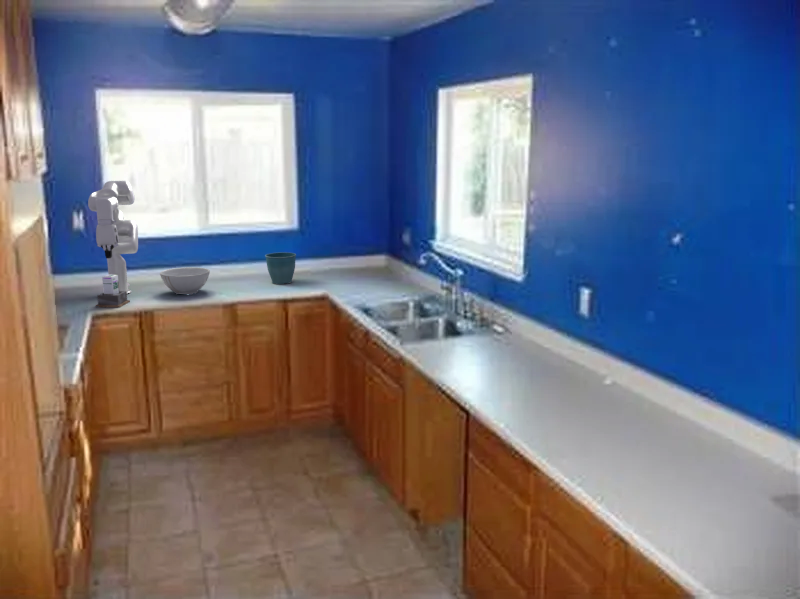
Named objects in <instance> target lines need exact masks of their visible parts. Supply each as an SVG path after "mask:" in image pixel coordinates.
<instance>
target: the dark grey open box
mask: <svg viewBox="0 0 800 599" xmlns="http://www.w3.org/2000/svg"><path fill="white" fill-rule="evenodd" d="M127 296H128V294H127V292H126V291H120V293H119V294H117V295H104V292H101V293H99V294H97V304H95V307H96V306H99V307H98V308H116V309H117V308H121V307H123V306H125V305H127V304H129V303H130V302H131V299H128V297H127Z"/></svg>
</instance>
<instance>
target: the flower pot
mask: <svg viewBox="0 0 800 599" xmlns="http://www.w3.org/2000/svg"><path fill="white" fill-rule="evenodd" d="M264 257H265V261H266V267H267V271H268V274H269V276H270V278H271V279H270V280H271V283H272V284H274V283H277V284H276V285H285V284H284V283H287V284H290V282H291V283H292V282H293V277H294V274H295V273H294V272H295V270H296V260H297V259H296V257H297V254H296V253H295V252H289V251H288V252H287V251H284V252H283V251H282V252H281V251H280V252H271V253H266V254H265V255H264Z"/></svg>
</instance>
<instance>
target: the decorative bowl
mask: <svg viewBox="0 0 800 599" xmlns="http://www.w3.org/2000/svg"><path fill="white" fill-rule="evenodd" d="M210 272H211V270H210V269H208V268H205V267H191V266H190V267H174V268H169V269H165V270H162V271H160V272H159V275H160V278H161V280H162V282H163V284H164V285H165V286H166V287H167V288H168V289H169V290H171V291H172V292H174V294H175V293H176V294H175V295H177V294H191V295H194V294H193V293H195V294H197V293H199V290H201V289H202V288H203V287H204V286H205V284H206V283H207V282H208V279H209V277H210Z"/></svg>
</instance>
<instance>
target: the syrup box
mask: <svg viewBox="0 0 800 599" xmlns="http://www.w3.org/2000/svg"><path fill="white" fill-rule="evenodd" d="M101 280H102V289H103V290H102V291H103V293H104V295H117V294H119V293H120V291H119V282H118V275H114V274H111V275H109V274H106V275H103V276H102V277H101Z"/></svg>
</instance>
